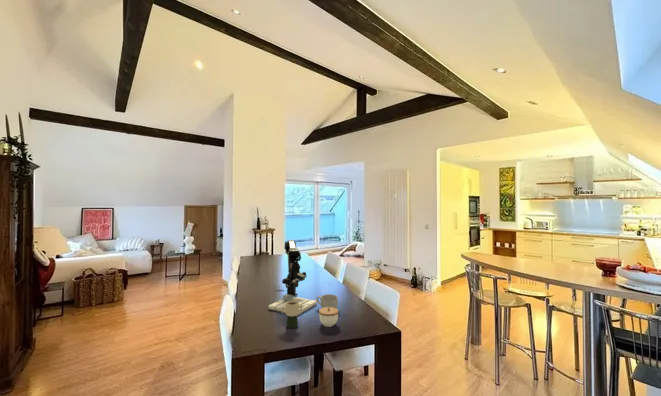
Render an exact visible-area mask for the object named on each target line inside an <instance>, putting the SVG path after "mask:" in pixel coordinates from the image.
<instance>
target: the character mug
mask: <svg viewBox="0 0 661 396" xmlns="http://www.w3.org/2000/svg"><path fill="white" fill-rule="evenodd" d="M299 307H300V310H299ZM284 308H286V311H284ZM299 311H302V305H299V302H298V301H287V302H286V306H285V307H282V312H281V313H282V314H285V315H286V316H287V317H286V327H287V328H289V329H294V328H296V327H298V325H299V323H298V316H299V315H298V313H299ZM297 315H298V316H297Z"/></svg>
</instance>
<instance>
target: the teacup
mask: <svg viewBox="0 0 661 396" xmlns="http://www.w3.org/2000/svg"><path fill="white" fill-rule="evenodd" d="M319 299H320V301H319ZM338 299H339V297H338V296H337V295H336V294H331V293H330V294H328V293H327V294H324V295H321V296H320V295H319V296H317V297H316V299H315V301H317V304H319V305H320V307H321V308H325V307H332V308H336V309H338V304H339V300H338Z"/></svg>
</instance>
